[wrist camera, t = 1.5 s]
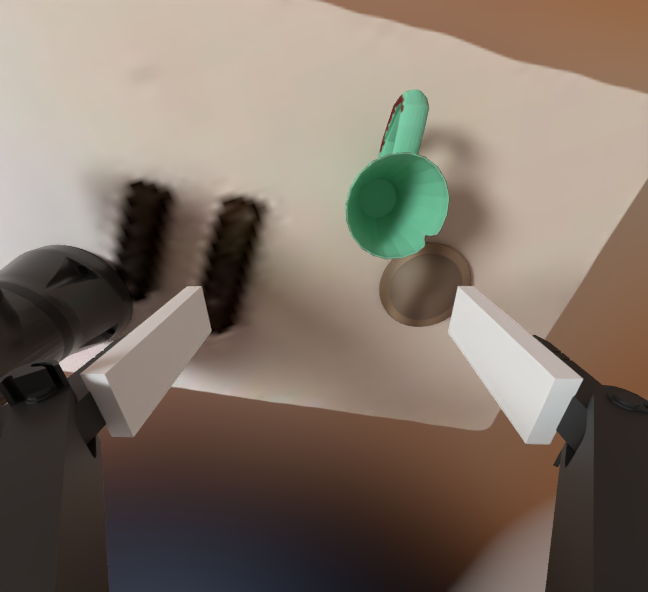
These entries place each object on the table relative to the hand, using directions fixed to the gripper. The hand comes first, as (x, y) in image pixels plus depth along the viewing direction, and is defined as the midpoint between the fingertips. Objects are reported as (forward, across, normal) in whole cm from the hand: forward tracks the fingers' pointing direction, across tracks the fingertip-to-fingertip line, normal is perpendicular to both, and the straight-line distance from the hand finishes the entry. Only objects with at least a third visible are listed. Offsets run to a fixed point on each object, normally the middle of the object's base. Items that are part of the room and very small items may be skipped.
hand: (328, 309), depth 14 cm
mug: (+25, +6, +5) cm, 26 cm away
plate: (+25, +14, -9) cm, 30 cm away
